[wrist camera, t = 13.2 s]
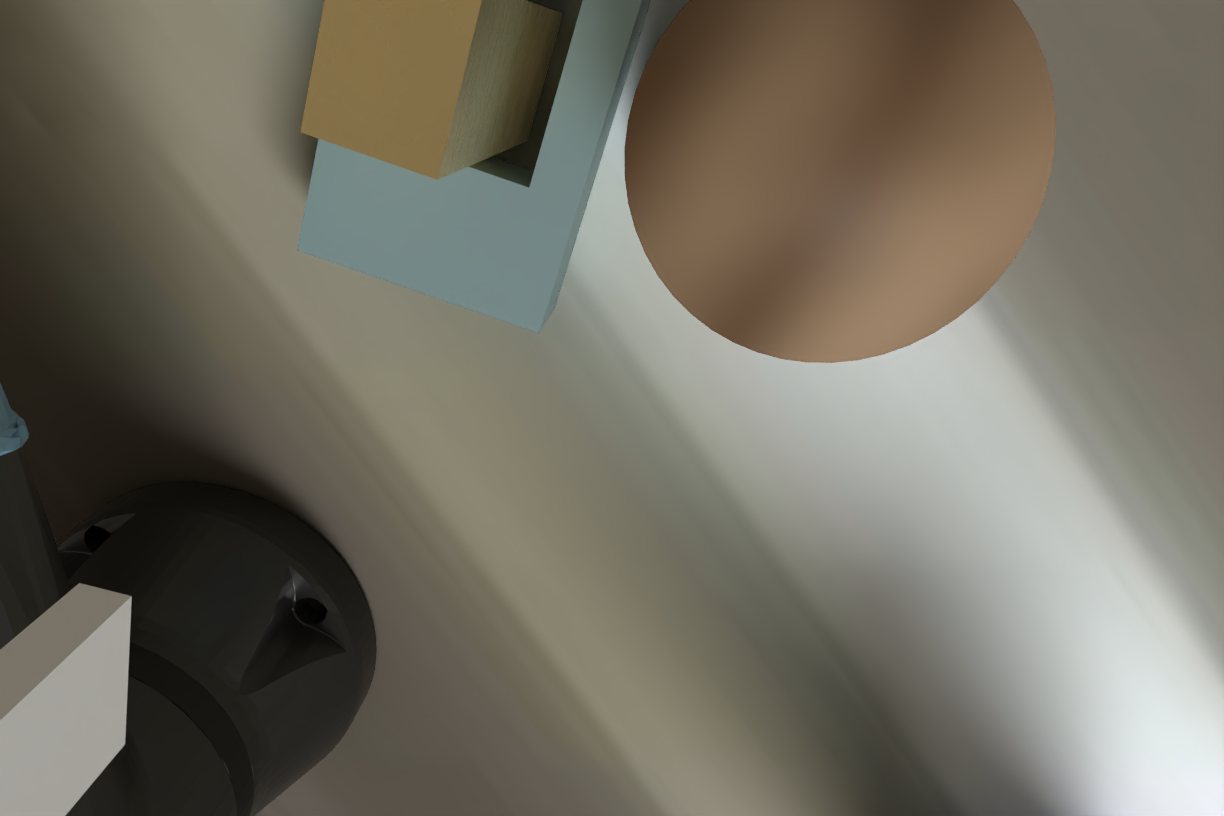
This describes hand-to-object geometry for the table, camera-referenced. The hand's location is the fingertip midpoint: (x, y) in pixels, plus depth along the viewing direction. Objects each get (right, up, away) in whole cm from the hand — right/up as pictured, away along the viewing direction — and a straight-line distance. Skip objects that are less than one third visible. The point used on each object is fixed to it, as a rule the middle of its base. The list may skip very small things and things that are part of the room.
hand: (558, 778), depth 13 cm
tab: (-3, +18, +19) cm, 26 cm away
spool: (+7, +15, +19) cm, 25 cm away
